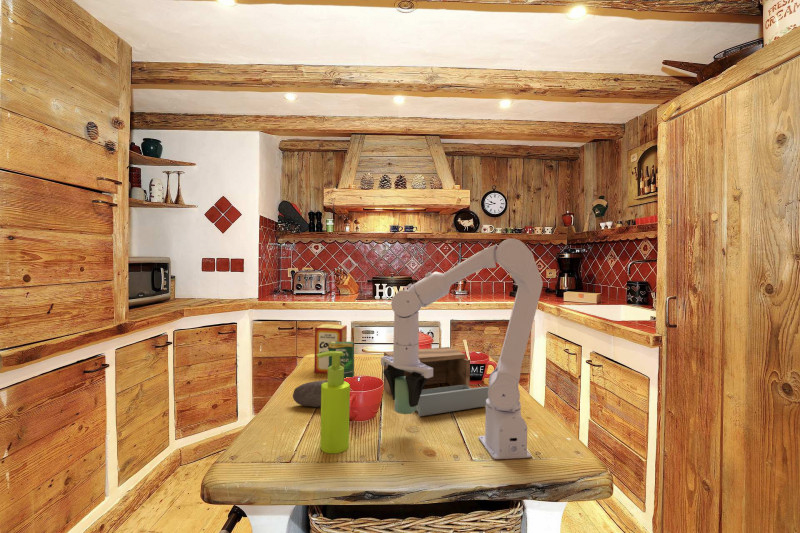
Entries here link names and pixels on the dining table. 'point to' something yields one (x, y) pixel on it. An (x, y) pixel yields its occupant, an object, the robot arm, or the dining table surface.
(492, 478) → the dining table surface
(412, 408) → the sea green cylinder
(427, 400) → the drawer tray
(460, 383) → the wooden drawer box
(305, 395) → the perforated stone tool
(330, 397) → the soap dispenser
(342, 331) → the red food box
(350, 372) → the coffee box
